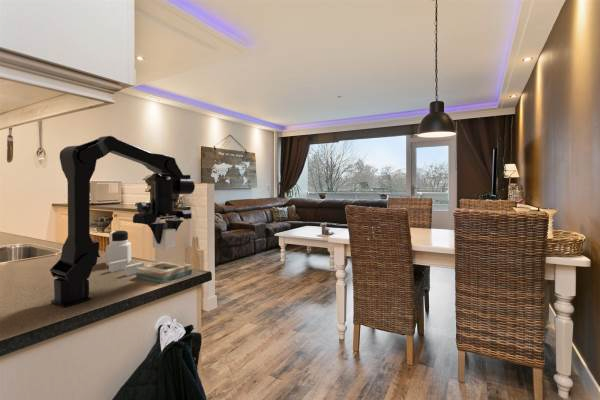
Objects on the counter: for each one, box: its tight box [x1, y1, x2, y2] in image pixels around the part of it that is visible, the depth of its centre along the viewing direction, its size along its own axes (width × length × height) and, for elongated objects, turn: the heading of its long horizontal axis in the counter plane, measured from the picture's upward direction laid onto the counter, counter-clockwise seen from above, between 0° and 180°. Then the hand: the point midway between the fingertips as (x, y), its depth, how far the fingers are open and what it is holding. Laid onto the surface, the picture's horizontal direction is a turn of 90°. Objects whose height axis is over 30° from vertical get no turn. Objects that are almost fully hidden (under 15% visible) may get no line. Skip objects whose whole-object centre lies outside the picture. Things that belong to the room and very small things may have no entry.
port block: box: [135, 259, 193, 284], centre depth 106 cm, size 12×12×3 cm
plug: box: [152, 222, 177, 250], centre depth 106 cm, size 4×6×8 cm, turn 63°
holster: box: [108, 259, 145, 277], centre depth 110 cm, size 6×10×3 cm, turn 63°
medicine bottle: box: [105, 230, 132, 267], centre depth 121 cm, size 7×7×12 cm
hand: (164, 242), depth 106 cm, fingers closed on plug, 4 cm apart
